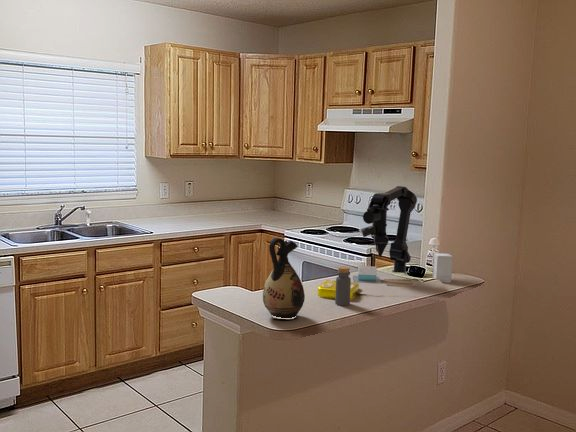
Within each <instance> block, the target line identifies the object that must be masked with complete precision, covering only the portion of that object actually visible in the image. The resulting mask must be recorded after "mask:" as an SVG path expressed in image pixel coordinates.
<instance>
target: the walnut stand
mask: <svg viewBox="0 0 576 432" xmlns="http://www.w3.org/2000/svg"><path fill="white" fill-rule="evenodd" d="M383 280H384V282H385V285H386V286H387V287H406V288H408V287H409V288H410V287H411V288H415V285H414V284H413V282H412V280H410V279H397V278H396V279H394V278H393V279H391V278H384V279H383Z"/></svg>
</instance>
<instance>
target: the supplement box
mask: <svg viewBox="0 0 576 432" xmlns="http://www.w3.org/2000/svg"><path fill="white" fill-rule="evenodd" d="M453 258H454V257H453V255H451V254H450V253H449V252H448V253H446V252H445V253H443V252H440V253H439V252H435V253H433V260H432V261H433V263H432V277H433V278H434V279H435V280H439V281H440V282H441V283H447V284H448V283H451V282H452V274H453Z"/></svg>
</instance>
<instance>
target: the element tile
mask: <svg viewBox="0 0 576 432" xmlns="http://www.w3.org/2000/svg"><path fill="white" fill-rule="evenodd" d="M359 287H360V285H359V283H356V282H355V283H354V282H353V281H351V287H350V301H353V300H354V299H355V298H356V297H357V296H358V294H359V293H358V291H359V289H360V288H359ZM335 295H336V280H332V279H326V280H325V281H324V282H322V283H321V284H320V285H318V287H317V297H318V296H320V297H319V298H323V297H326V298H325V299H331V298H334V299H333V300H335ZM355 296H356V297H355Z"/></svg>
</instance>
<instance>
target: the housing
mask: <svg viewBox="0 0 576 432" xmlns="http://www.w3.org/2000/svg"><path fill="white" fill-rule="evenodd" d="M377 272H378V268H377V266H373V265H372V266H371V265H370V266H369V265H368V266H366V265H358V266H357V276H358V280H359V281H376V277H378V276H377V275H378V273H377Z"/></svg>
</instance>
